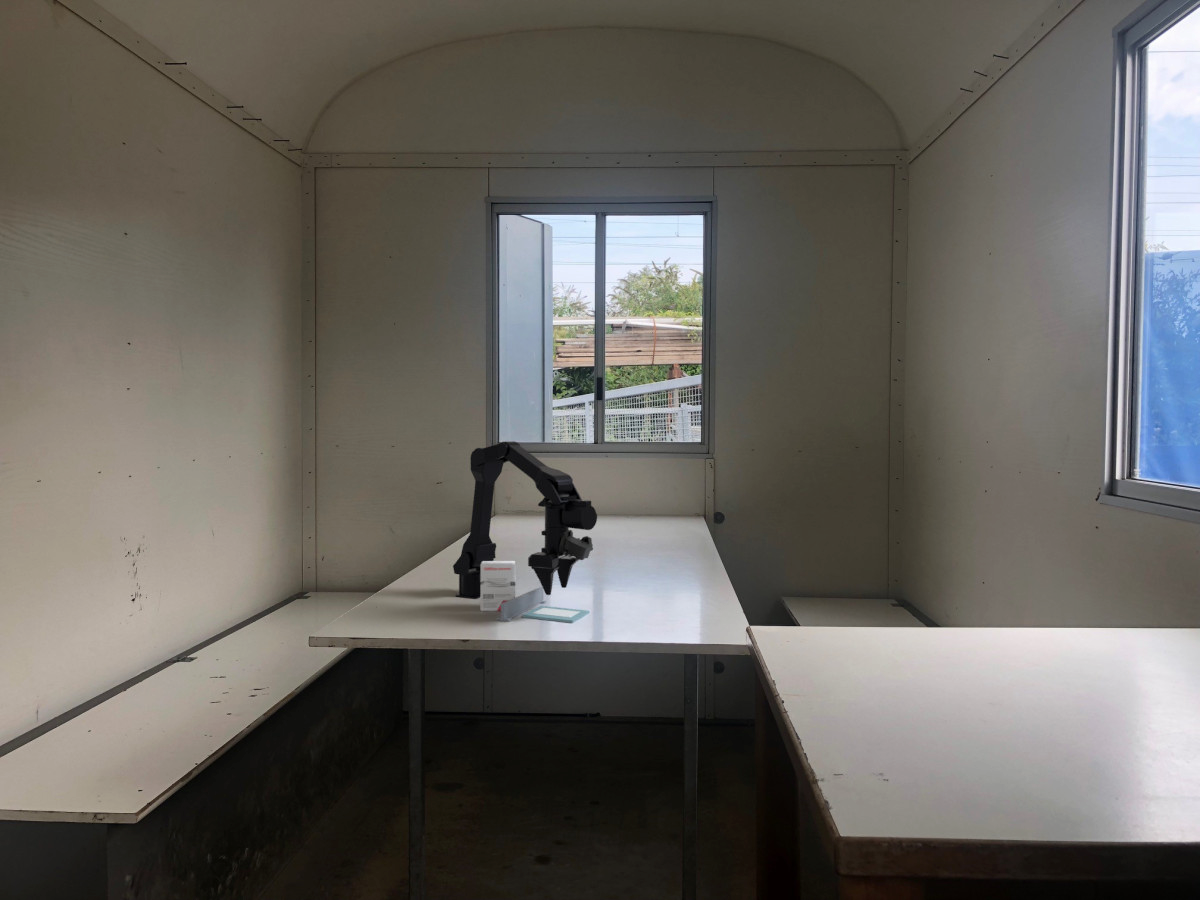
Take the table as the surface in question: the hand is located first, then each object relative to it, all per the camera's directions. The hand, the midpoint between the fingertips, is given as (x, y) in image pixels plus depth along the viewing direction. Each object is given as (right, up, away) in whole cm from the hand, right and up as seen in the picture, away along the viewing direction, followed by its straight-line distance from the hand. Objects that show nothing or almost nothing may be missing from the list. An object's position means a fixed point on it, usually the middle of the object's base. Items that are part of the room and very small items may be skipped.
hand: (556, 591), depth 179 cm
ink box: (-15, -6, +6) cm, 17 cm away
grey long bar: (-8, -6, +4) cm, 11 cm away
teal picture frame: (0, -6, 0) cm, 6 cm away
